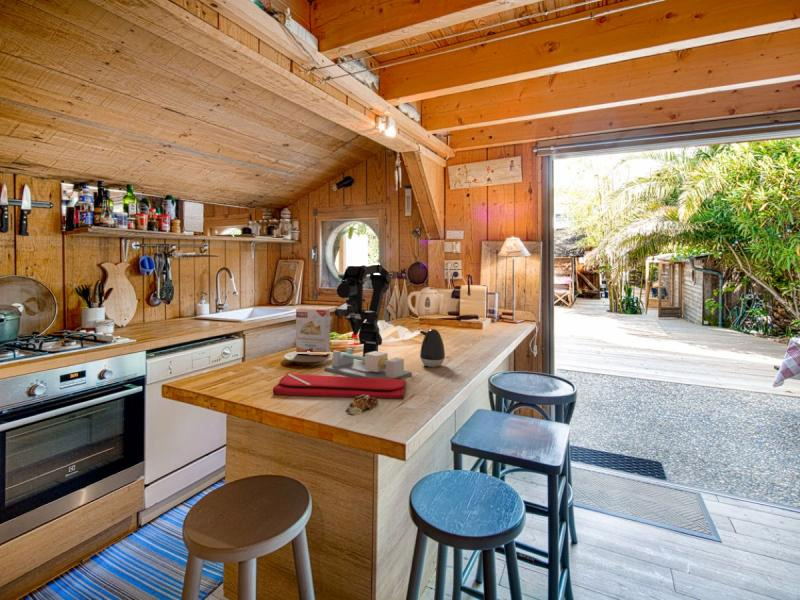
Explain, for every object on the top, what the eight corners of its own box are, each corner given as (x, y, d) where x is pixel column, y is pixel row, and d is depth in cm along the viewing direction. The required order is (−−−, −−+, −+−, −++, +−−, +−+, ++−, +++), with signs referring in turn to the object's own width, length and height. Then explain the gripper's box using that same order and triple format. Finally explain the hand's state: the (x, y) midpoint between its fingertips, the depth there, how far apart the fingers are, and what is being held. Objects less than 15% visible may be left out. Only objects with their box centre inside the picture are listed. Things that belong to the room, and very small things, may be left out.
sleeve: (375, 366, 159) (375, 351, 159) (387, 369, 156) (387, 353, 155) (364, 369, 155) (364, 353, 154) (377, 372, 151) (377, 356, 150)
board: (353, 362, 173) (353, 346, 173) (411, 375, 155) (411, 356, 155) (324, 370, 161) (324, 352, 160) (384, 384, 143) (384, 364, 142)
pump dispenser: (420, 362, 176) (421, 326, 174) (445, 363, 174) (446, 327, 173) (418, 368, 166) (418, 330, 164) (444, 369, 164) (445, 331, 163)
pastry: (342, 415, 115) (342, 402, 114) (358, 401, 126) (358, 390, 126) (365, 418, 113) (365, 405, 113) (379, 404, 124) (379, 392, 124)
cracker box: (295, 355, 185) (295, 308, 183) (301, 352, 191) (300, 307, 189) (325, 356, 183) (325, 309, 181) (330, 354, 189) (330, 308, 187)
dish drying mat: (403, 400, 127) (403, 388, 127) (272, 396, 129) (271, 384, 129) (405, 385, 143) (405, 374, 143) (288, 381, 145) (288, 371, 145)
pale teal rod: (342, 357, 168) (342, 348, 168) (398, 369, 151) (398, 358, 151) (335, 359, 165) (335, 349, 165) (391, 371, 148) (391, 360, 148)
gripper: (324, 296, 165) (324, 334, 167) (359, 299, 154) (358, 340, 155) (344, 294, 174) (344, 331, 175) (378, 297, 163) (378, 336, 164)
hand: (355, 335), depth 167 cm, fingers closed
